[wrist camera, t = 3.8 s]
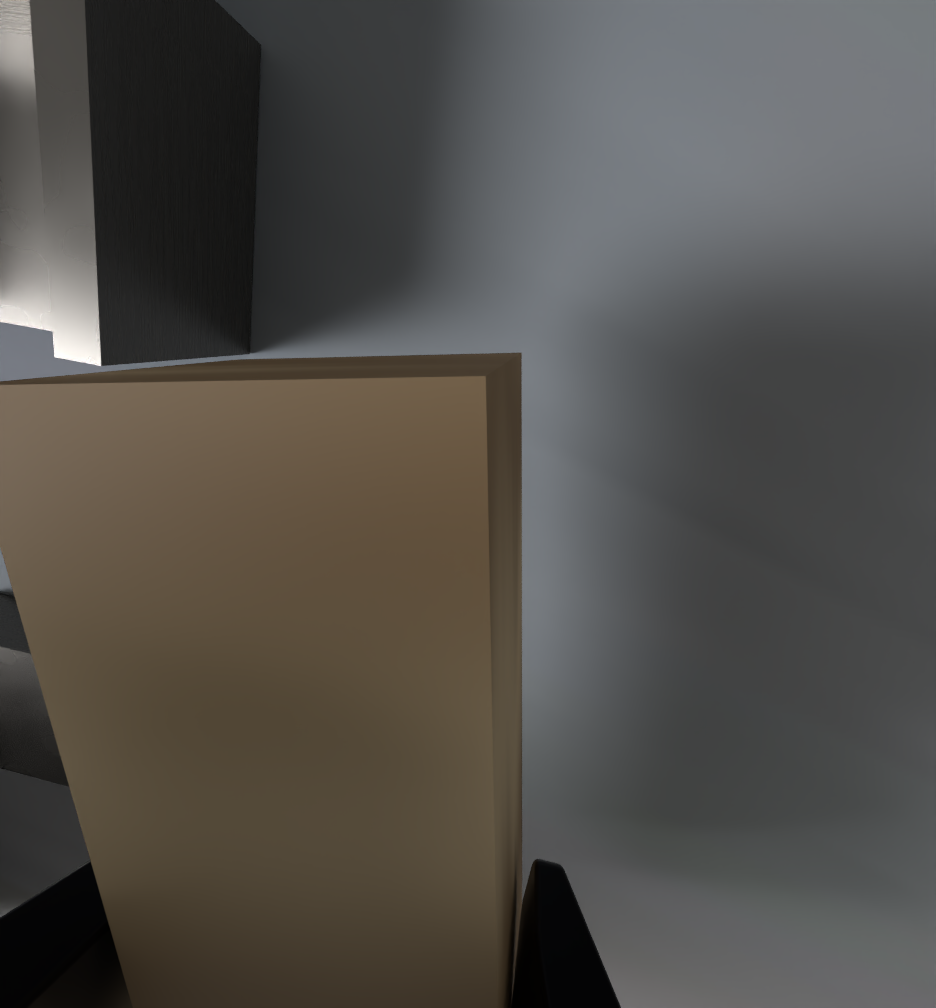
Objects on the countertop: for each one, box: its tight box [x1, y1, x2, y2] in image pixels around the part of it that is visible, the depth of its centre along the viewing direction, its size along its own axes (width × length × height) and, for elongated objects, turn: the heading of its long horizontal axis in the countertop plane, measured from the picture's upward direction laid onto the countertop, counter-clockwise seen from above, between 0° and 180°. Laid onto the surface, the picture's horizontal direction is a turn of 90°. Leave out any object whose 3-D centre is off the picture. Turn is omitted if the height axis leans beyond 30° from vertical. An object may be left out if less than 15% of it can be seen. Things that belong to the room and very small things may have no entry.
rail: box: [0, 353, 522, 1008], centre depth 8 cm, size 14×4×4 cm, turn 2°
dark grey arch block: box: [0, 594, 69, 786], centre depth 15 cm, size 4×8×3 cm, turn 81°
